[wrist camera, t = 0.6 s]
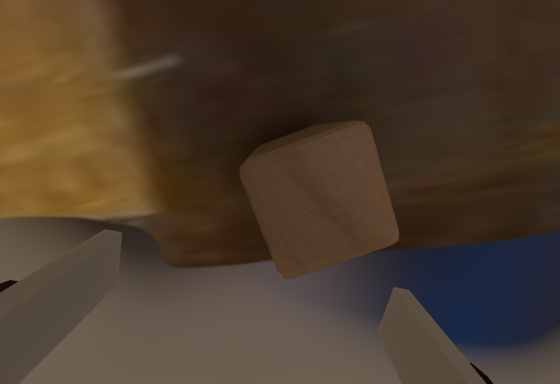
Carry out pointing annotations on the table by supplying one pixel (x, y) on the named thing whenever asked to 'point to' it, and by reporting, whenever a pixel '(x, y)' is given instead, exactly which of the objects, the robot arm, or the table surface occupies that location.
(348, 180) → the wooden block
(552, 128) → the table surface
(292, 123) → the table surface
